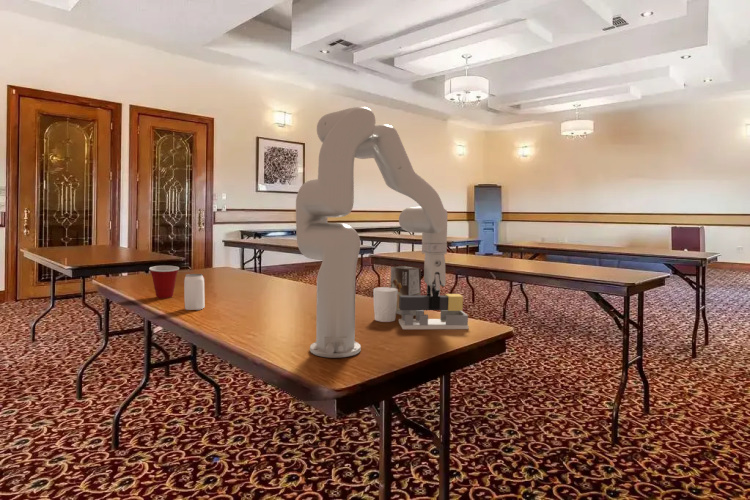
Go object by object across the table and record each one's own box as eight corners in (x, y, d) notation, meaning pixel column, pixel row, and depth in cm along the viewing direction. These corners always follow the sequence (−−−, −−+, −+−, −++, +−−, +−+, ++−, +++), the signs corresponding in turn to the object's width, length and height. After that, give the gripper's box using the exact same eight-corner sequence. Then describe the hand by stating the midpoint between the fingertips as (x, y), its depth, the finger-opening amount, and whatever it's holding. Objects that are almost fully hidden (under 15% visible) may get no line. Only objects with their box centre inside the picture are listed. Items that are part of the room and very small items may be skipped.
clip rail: (468, 329, 136) (468, 315, 136) (402, 329, 135) (403, 316, 134) (460, 321, 145) (460, 309, 145) (398, 322, 144) (398, 309, 143)
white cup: (393, 323, 142) (393, 292, 141) (369, 321, 144) (369, 290, 143) (399, 318, 149) (400, 288, 148) (377, 316, 152) (377, 286, 151)
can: (185, 307, 160) (185, 273, 159) (205, 306, 162) (204, 273, 161) (183, 311, 154) (183, 276, 153) (204, 310, 156) (203, 275, 155)
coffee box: (421, 314, 155) (422, 268, 154) (408, 317, 151) (409, 269, 149) (402, 310, 162) (403, 265, 161) (389, 312, 158) (390, 266, 156)
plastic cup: (153, 300, 170) (153, 269, 170) (146, 296, 179) (145, 266, 178) (183, 297, 177) (183, 267, 177) (175, 293, 186) (174, 264, 185)
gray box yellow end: (400, 310, 137) (401, 296, 136) (398, 307, 141) (399, 293, 141) (462, 310, 138) (462, 296, 138) (458, 307, 143) (459, 293, 142)
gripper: (453, 251, 130) (451, 313, 132) (440, 246, 147) (438, 302, 148) (427, 250, 130) (426, 314, 131) (417, 246, 146) (416, 302, 147)
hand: (432, 307), depth 140 cm, fingers closed on gray box yellow end, 3 cm apart
